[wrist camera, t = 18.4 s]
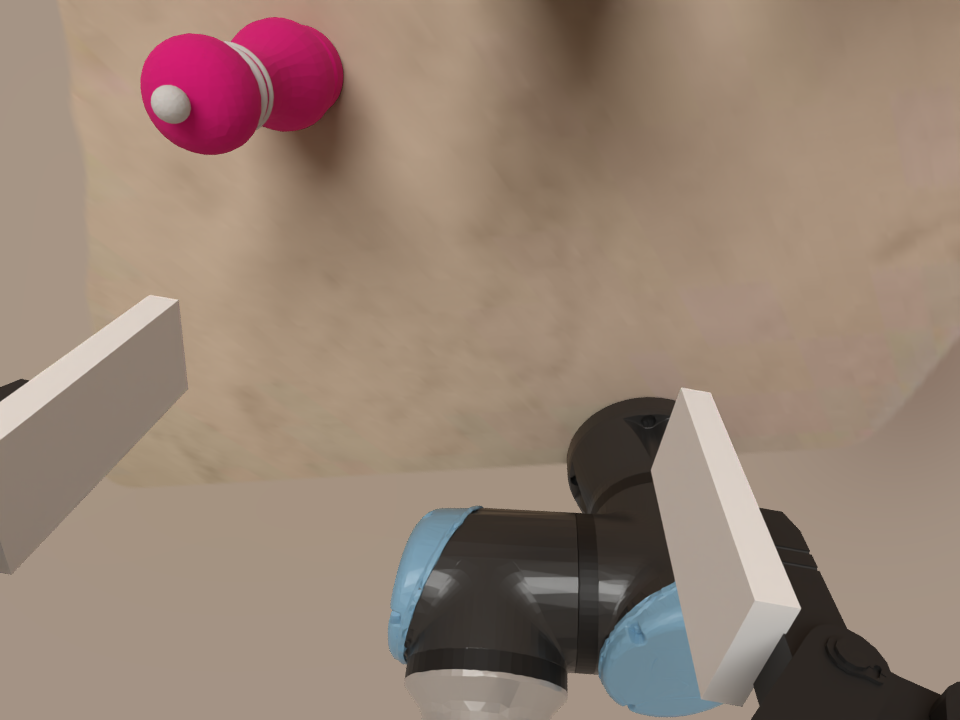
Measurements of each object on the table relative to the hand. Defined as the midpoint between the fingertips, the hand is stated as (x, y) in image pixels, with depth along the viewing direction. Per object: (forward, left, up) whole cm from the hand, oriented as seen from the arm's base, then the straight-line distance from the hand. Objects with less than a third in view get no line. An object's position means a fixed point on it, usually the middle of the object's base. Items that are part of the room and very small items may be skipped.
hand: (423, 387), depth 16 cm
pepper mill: (+15, +6, -37) cm, 40 cm away
